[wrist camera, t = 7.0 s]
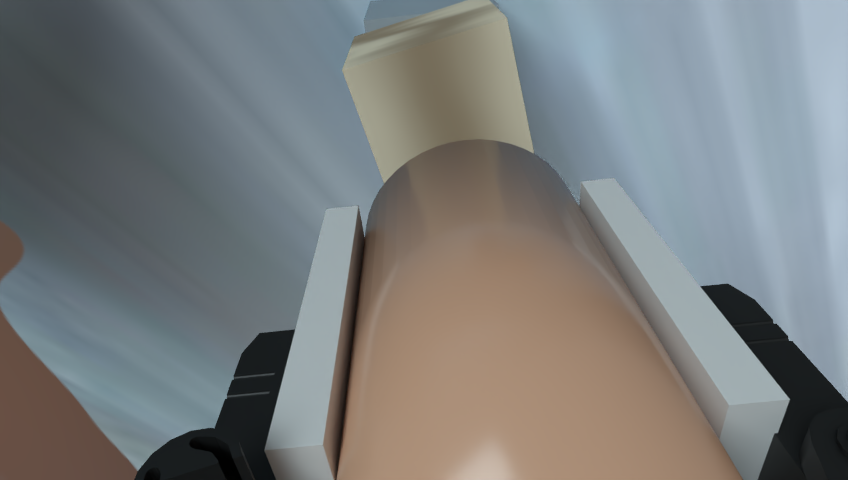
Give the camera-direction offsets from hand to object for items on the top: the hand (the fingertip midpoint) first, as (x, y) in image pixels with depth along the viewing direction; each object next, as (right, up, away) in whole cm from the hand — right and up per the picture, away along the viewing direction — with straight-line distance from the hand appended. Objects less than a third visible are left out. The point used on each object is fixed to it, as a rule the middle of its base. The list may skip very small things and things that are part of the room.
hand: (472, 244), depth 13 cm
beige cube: (-1, +8, +12) cm, 15 cm away
